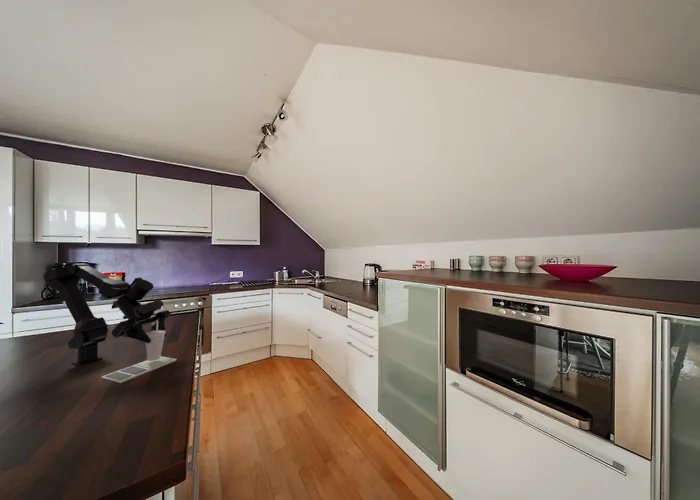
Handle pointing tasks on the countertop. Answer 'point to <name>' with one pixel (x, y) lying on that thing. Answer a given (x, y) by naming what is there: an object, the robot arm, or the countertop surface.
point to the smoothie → (155, 343)
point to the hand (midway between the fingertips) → (158, 339)
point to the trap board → (137, 369)
